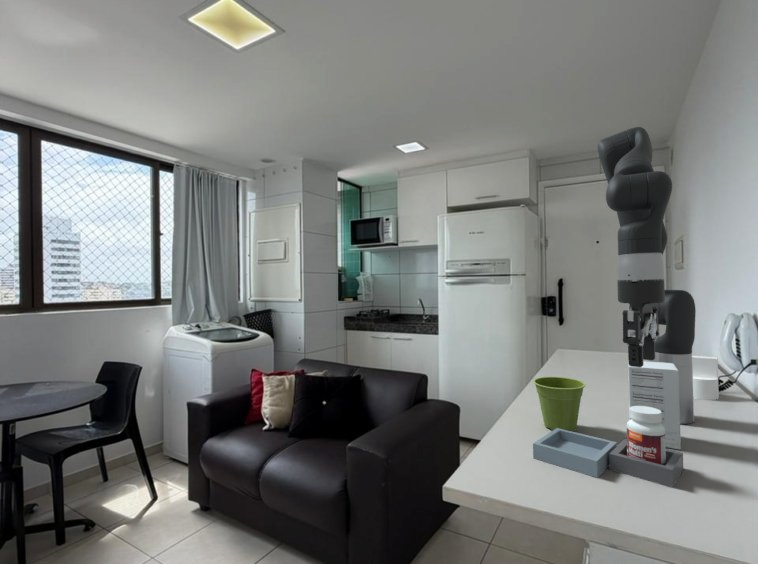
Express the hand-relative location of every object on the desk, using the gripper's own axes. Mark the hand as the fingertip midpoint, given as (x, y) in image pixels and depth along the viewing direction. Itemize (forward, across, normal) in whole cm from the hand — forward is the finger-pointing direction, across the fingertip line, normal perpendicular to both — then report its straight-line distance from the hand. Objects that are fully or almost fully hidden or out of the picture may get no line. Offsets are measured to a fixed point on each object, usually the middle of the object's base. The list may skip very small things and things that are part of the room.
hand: (642, 363), depth 76 cm
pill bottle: (+20, 0, 0) cm, 20 cm away
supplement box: (+20, -18, -3) cm, 27 cm away
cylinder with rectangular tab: (+20, -67, -1) cm, 70 cm away
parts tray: (+20, +4, -11) cm, 23 cm away
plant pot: (+20, -11, -20) cm, 31 cm away
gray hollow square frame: (+20, 0, 0) cm, 20 cm away
